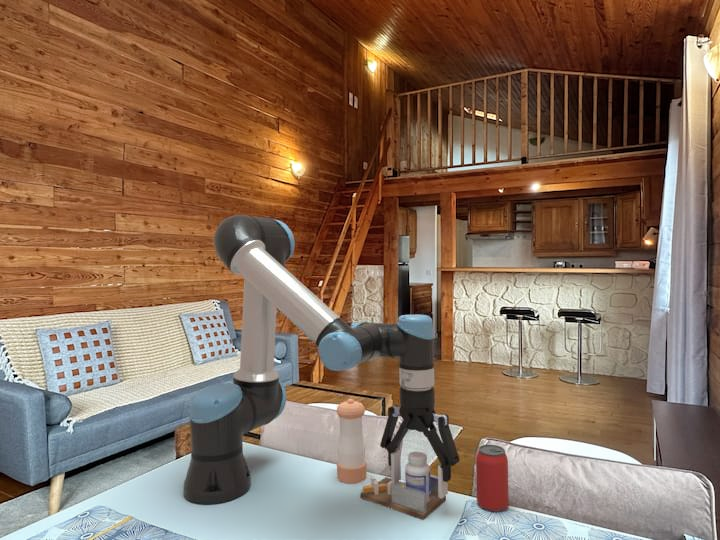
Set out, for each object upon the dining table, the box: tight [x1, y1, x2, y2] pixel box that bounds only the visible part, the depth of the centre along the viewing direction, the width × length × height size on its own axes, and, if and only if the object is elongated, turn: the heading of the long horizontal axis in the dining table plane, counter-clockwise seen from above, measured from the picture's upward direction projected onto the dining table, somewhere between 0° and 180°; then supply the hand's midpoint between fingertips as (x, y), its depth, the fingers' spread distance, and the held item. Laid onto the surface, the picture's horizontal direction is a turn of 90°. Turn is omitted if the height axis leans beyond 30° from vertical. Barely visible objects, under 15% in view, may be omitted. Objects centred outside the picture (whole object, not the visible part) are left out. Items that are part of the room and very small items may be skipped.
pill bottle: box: [404, 451, 431, 503], centre depth 103 cm, size 5×5×10 cm
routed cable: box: [362, 475, 400, 495], centre depth 108 cm, size 8×7×2 cm
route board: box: [360, 476, 447, 521], centre depth 106 cm, size 16×10×1 cm, turn 53°
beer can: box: [475, 444, 510, 512], centre depth 102 cm, size 7×7×12 cm
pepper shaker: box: [336, 398, 368, 484], centre depth 117 cm, size 7×7×19 cm
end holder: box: [391, 473, 446, 514], centre depth 103 cm, size 8×9×4 cm
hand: (418, 488), depth 103 cm, fingers open, 11 cm apart
